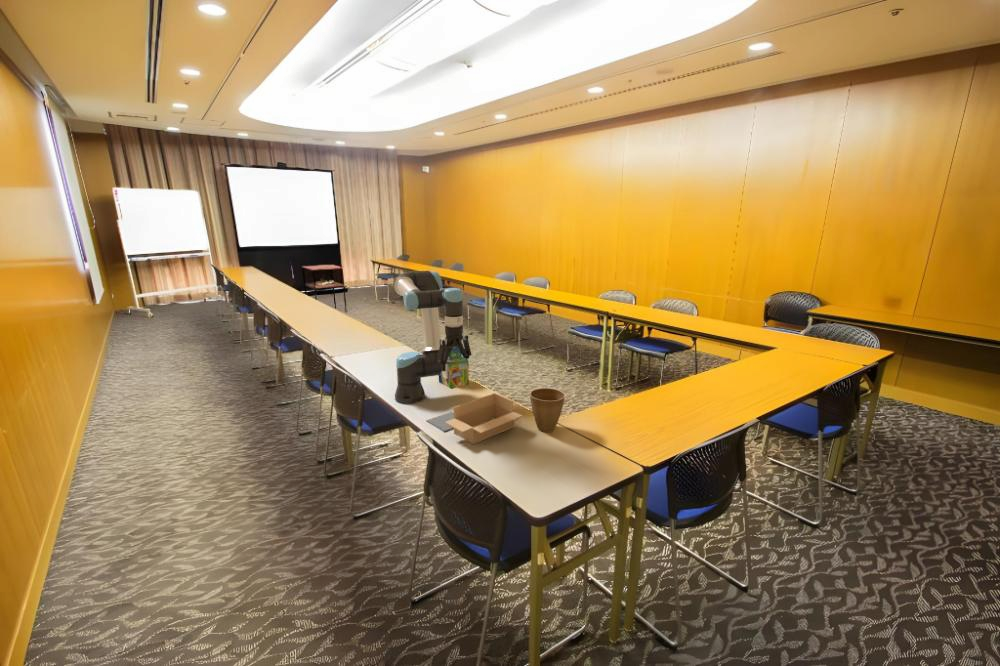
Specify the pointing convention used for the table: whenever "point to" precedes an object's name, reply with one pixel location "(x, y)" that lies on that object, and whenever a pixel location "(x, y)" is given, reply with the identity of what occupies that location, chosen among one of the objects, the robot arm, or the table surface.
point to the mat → (442, 421)
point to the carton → (483, 418)
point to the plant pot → (546, 407)
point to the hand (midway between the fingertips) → (454, 374)
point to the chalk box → (456, 371)
